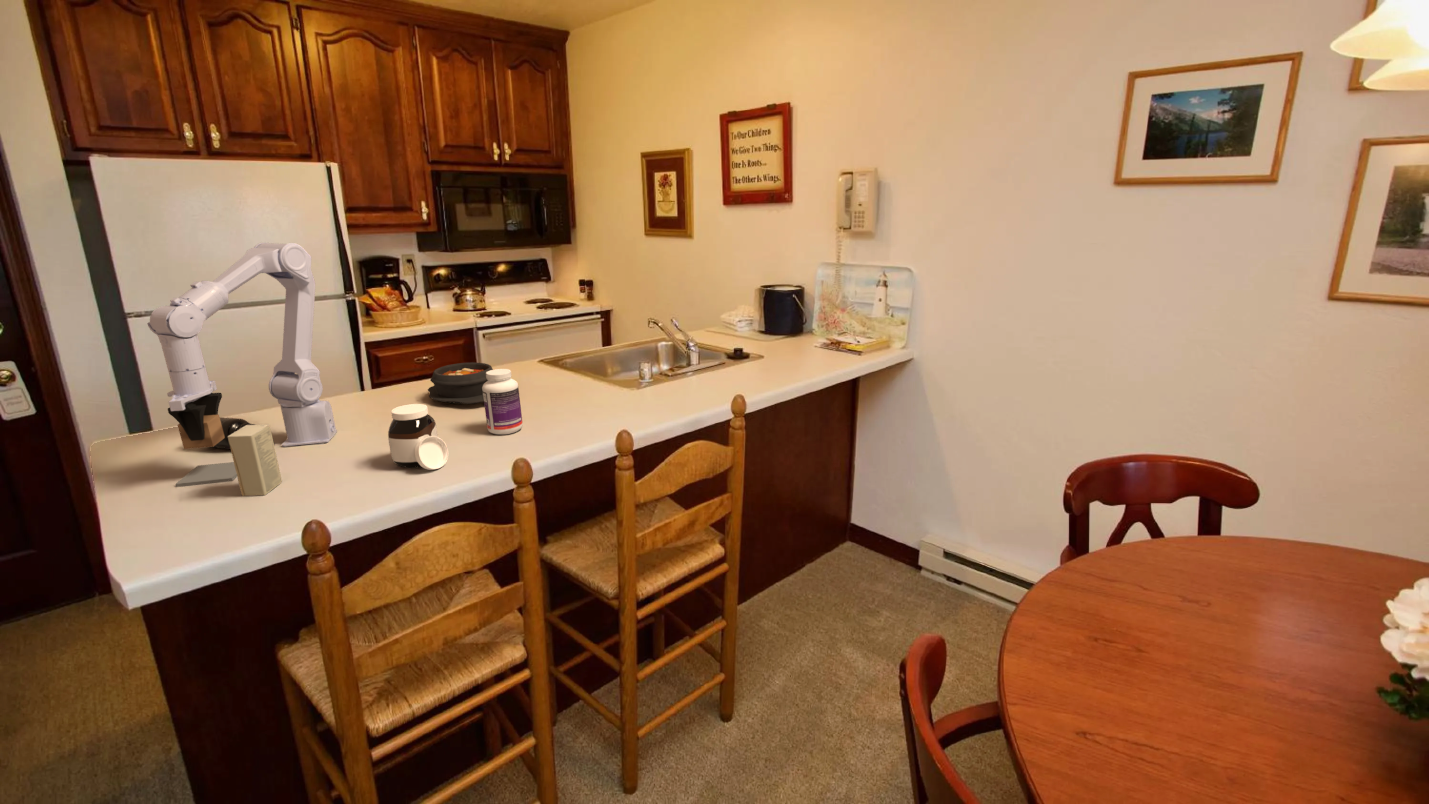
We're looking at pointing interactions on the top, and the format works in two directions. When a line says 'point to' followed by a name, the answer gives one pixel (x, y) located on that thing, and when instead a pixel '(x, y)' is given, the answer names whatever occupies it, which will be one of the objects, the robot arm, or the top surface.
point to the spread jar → (415, 438)
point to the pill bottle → (502, 402)
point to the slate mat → (209, 474)
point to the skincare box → (255, 459)
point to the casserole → (459, 383)
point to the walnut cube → (211, 433)
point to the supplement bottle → (230, 429)
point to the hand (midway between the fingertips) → (204, 434)
